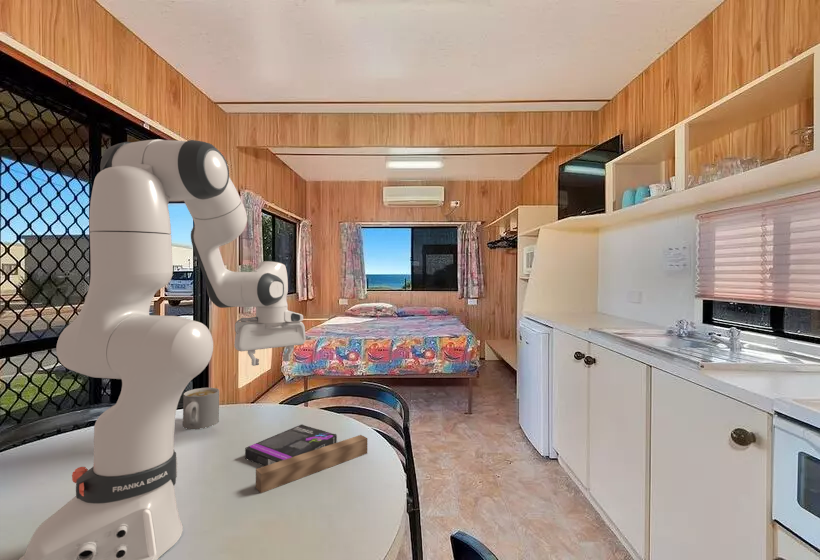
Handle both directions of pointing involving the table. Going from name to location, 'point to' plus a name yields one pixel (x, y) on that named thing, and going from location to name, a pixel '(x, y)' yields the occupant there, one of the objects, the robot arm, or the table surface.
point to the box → (289, 444)
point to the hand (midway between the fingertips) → (271, 362)
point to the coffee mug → (200, 408)
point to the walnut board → (309, 463)
